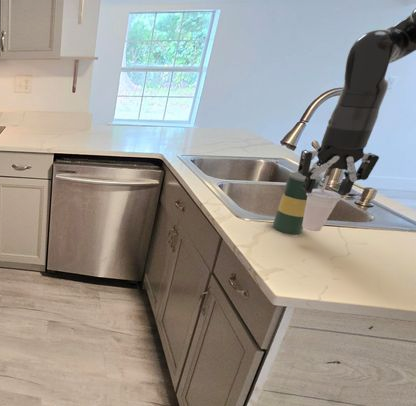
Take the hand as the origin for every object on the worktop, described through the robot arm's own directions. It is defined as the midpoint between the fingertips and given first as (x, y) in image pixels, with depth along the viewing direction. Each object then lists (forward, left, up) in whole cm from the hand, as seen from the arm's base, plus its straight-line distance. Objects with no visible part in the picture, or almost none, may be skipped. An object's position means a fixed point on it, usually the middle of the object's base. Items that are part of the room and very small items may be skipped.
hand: (324, 193), depth 90 cm
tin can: (+8, -8, -15) cm, 19 cm away
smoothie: (0, 0, -10) cm, 10 cm away
